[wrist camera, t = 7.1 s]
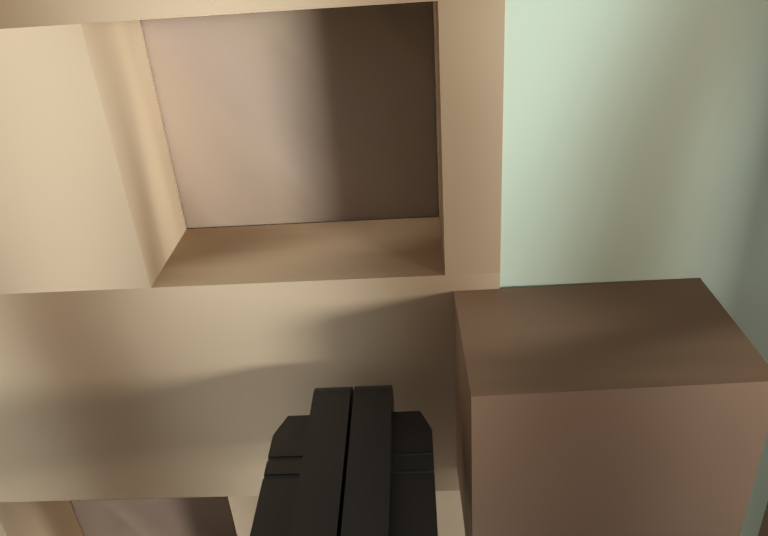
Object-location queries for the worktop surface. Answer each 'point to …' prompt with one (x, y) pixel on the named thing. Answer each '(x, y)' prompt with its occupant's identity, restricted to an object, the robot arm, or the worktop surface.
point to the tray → (346, 237)
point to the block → (605, 411)
